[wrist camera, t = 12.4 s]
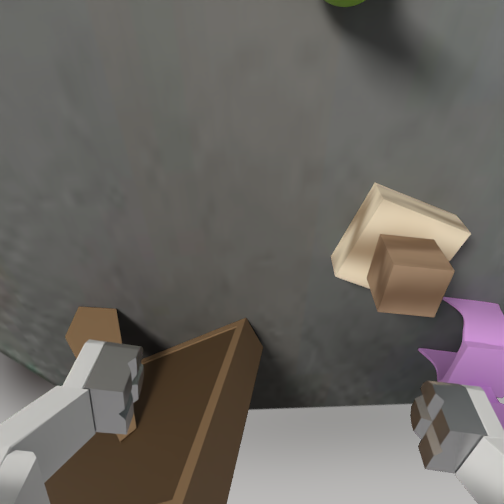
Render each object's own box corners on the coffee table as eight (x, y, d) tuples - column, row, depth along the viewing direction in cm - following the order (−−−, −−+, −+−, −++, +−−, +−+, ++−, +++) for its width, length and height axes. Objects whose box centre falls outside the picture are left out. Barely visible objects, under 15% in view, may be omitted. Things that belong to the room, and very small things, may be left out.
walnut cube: (380, 233, 38) (394, 264, 34) (434, 239, 38) (454, 270, 34) (366, 278, 41) (377, 311, 36) (417, 283, 41) (434, 317, 36)
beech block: (374, 180, 39) (383, 199, 36) (454, 213, 41) (471, 233, 38) (330, 254, 44) (335, 276, 41) (404, 281, 46) (414, 304, 42)
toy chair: (509, 301, 46) (598, 420, 33) (476, 357, 51) (543, 480, 38) (435, 291, 46) (497, 408, 33) (409, 348, 50) (454, 469, 38)
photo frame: (263, 341, 51) (255, 592, 30) (123, 393, 57) (35, 630, 36) (196, 249, 44) (124, 489, 23) (47, 320, 51) (-116, 559, 29)
